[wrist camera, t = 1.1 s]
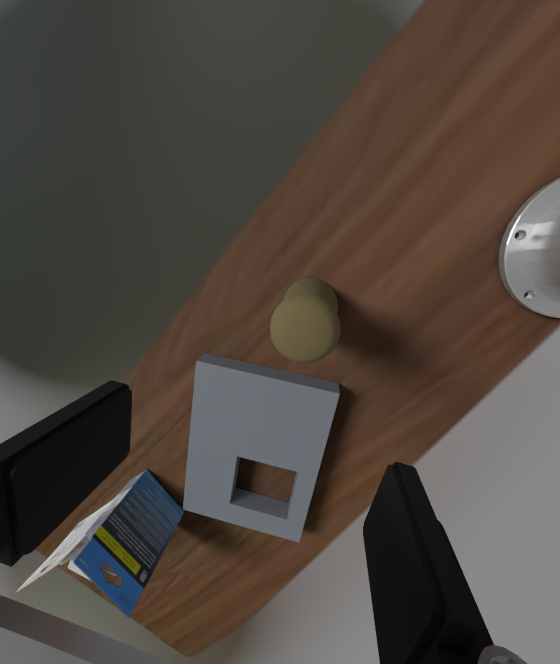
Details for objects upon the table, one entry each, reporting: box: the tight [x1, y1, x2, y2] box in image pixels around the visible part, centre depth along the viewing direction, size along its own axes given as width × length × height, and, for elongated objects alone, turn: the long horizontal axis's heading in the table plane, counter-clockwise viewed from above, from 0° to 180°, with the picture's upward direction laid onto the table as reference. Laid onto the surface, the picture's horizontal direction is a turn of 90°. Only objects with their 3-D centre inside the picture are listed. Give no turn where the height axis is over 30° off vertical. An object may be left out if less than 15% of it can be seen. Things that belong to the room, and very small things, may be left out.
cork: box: [270, 278, 341, 363], centre depth 23 cm, size 6×6×11 cm
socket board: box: [183, 353, 340, 542], centre depth 33 cm, size 16×22×2 cm
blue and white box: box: [73, 469, 184, 618], centre depth 34 cm, size 9×4×12 cm, turn 36°
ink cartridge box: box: [16, 499, 114, 593], centre depth 38 cm, size 2×11×10 cm, turn 130°
